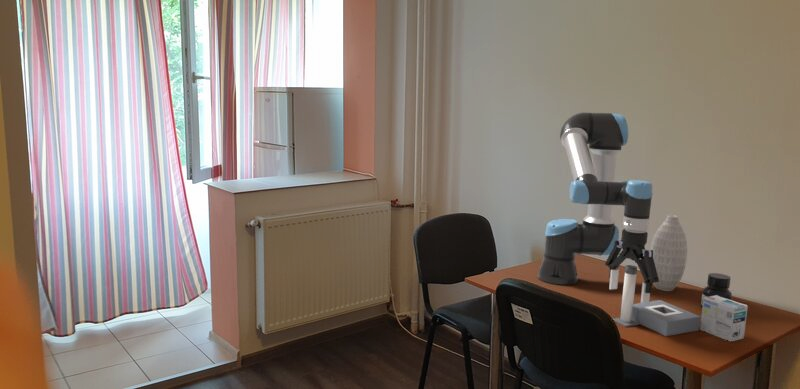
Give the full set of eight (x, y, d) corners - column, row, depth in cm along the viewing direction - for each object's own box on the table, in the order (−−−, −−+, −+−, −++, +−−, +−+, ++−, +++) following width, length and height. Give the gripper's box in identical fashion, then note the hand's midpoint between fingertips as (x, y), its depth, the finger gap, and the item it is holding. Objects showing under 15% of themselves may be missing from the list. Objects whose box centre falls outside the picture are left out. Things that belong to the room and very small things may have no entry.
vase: (647, 281, 243) (655, 211, 238) (683, 286, 238) (691, 214, 233) (645, 290, 232) (653, 216, 227) (682, 296, 226) (691, 220, 222)
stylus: (617, 319, 199) (623, 265, 196) (625, 318, 201) (631, 264, 198) (625, 323, 196) (631, 268, 193) (633, 322, 197) (639, 267, 194)
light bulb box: (744, 338, 188) (749, 305, 187) (730, 342, 185) (735, 308, 183) (712, 326, 198) (716, 294, 196) (698, 330, 194) (702, 297, 193)
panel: (627, 317, 202) (628, 304, 202) (658, 312, 208) (660, 299, 207) (666, 336, 188) (667, 321, 187) (698, 330, 194) (700, 315, 193)
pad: (611, 320, 200) (611, 318, 200) (625, 318, 202) (626, 316, 202) (625, 327, 194) (625, 325, 194) (639, 324, 197) (640, 323, 197)
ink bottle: (695, 304, 218) (699, 271, 216) (718, 304, 219) (723, 271, 217) (711, 314, 208) (715, 280, 206) (736, 314, 209) (740, 280, 207)
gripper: (597, 222, 203) (592, 284, 206) (657, 240, 181) (649, 309, 184) (615, 221, 206) (609, 282, 210) (676, 238, 184) (668, 307, 187)
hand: (628, 295), depth 197 cm, fingers open, 13 cm apart
